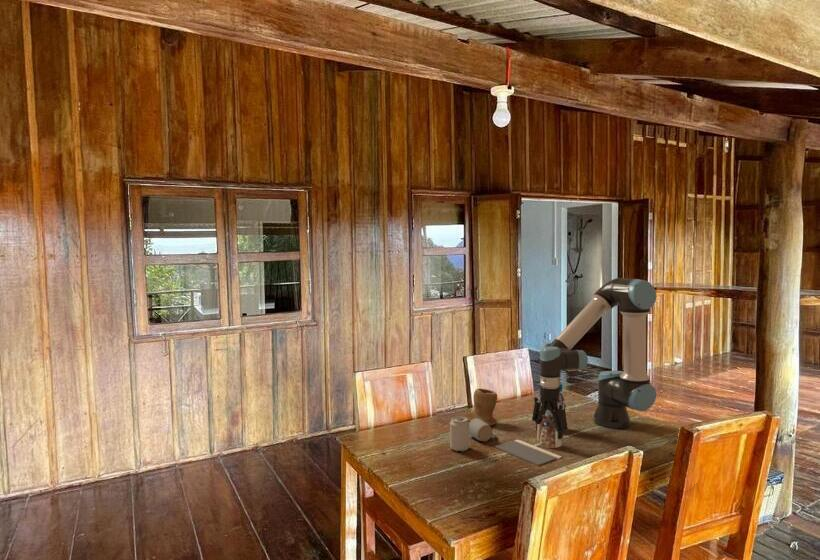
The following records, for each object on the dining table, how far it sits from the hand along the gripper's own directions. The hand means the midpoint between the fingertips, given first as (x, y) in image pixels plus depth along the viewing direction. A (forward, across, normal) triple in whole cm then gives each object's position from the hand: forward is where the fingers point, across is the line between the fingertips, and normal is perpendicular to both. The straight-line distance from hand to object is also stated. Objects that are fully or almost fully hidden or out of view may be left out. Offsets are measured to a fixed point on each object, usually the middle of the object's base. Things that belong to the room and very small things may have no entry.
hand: (549, 442), depth 211 cm
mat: (+1, 0, -14) cm, 14 cm away
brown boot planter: (+1, -36, -3) cm, 36 cm away
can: (+1, -18, -31) cm, 36 cm away
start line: (+1, 0, -7) cm, 7 cm away
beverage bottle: (+1, -11, +16) cm, 19 cm away
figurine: (+1, 0, 0) cm, 1 cm away
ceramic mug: (+1, -21, -16) cm, 26 cm away
